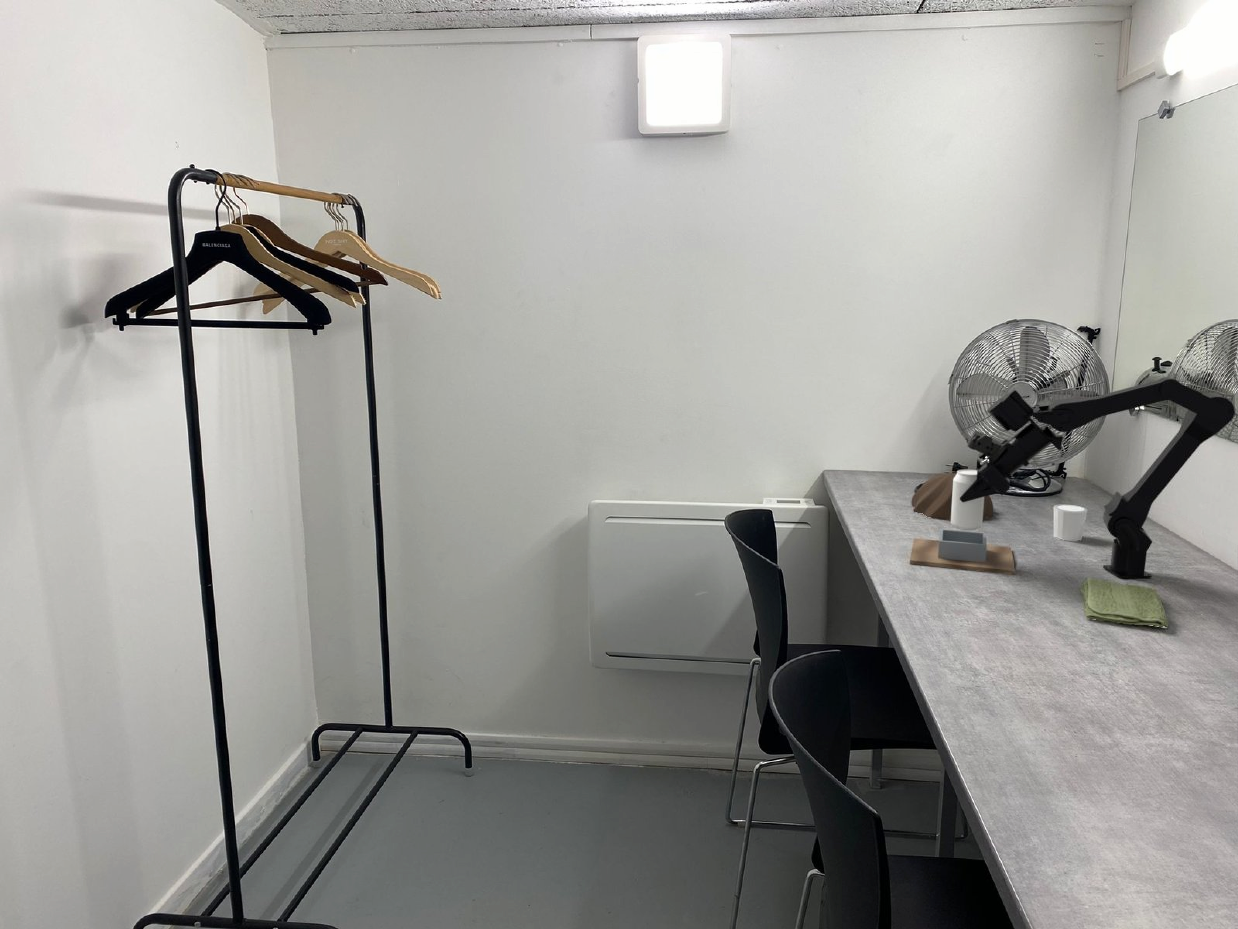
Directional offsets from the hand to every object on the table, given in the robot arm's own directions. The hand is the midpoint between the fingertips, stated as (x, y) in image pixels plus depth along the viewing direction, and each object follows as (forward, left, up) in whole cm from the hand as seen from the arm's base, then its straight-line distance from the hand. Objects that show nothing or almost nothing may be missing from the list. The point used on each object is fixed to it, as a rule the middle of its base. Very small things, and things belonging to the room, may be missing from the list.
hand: (961, 496), depth 186 cm
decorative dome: (+36, -12, -14) cm, 40 cm away
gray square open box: (0, -1, -13) cm, 13 cm away
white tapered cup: (+13, -30, -13) cm, 35 cm away
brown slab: (0, -1, -13) cm, 13 cm away
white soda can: (-1, -1, -7) cm, 7 cm away
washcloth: (-30, -19, -14) cm, 38 cm away
